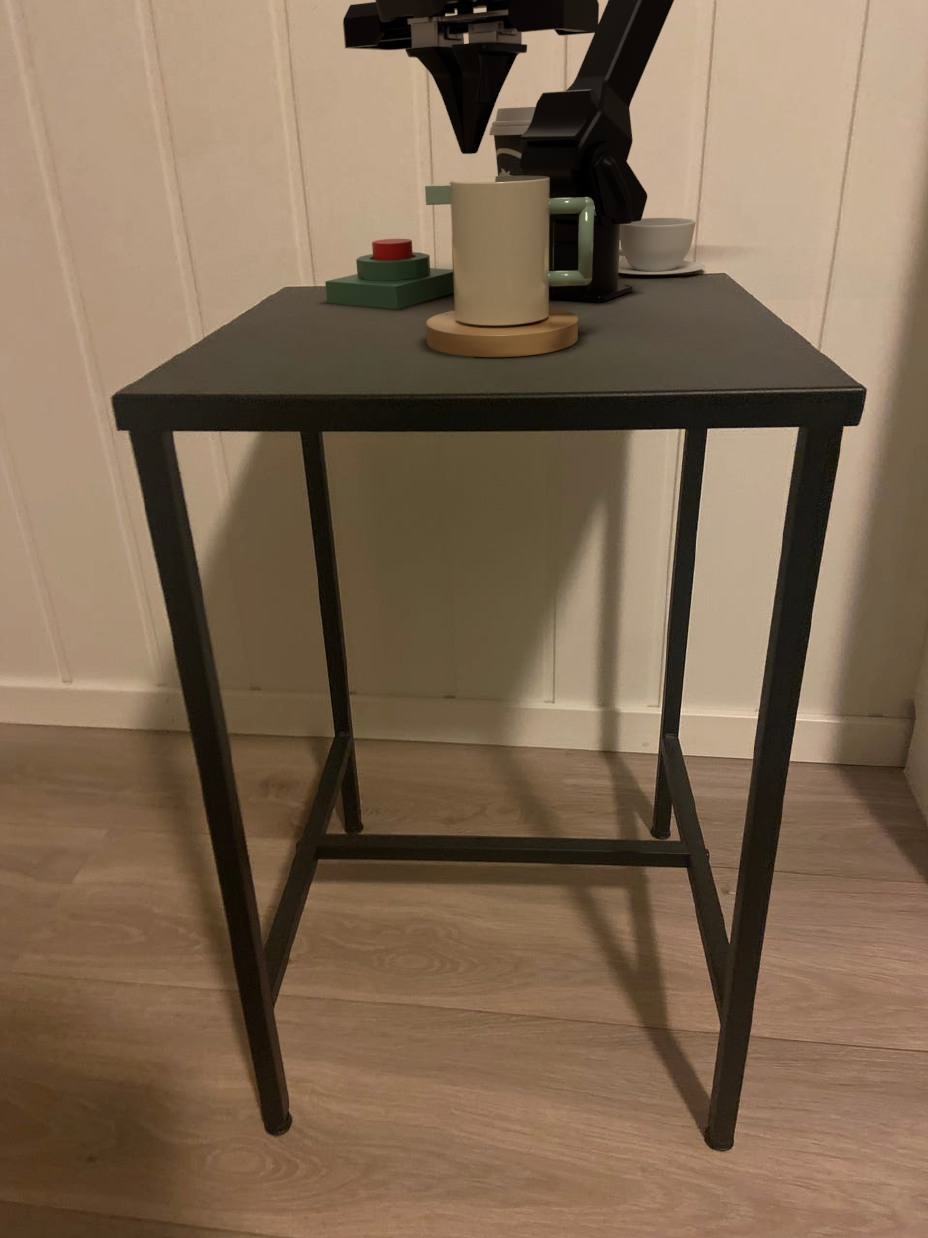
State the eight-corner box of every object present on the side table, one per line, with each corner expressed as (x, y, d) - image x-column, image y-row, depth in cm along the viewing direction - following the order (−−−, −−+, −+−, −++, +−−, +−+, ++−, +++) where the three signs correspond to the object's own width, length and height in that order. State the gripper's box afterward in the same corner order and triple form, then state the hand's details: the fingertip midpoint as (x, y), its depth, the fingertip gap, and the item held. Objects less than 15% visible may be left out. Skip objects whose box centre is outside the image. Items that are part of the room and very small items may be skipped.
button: (389, 257, 87) (388, 237, 86) (420, 259, 85) (419, 239, 85) (365, 263, 85) (363, 242, 84) (397, 265, 83) (395, 243, 82)
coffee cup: (584, 288, 87) (589, 104, 80) (484, 288, 89) (479, 108, 82) (593, 272, 95) (598, 104, 88) (500, 273, 97) (498, 108, 90)
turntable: (479, 320, 75) (479, 301, 74) (603, 332, 69) (604, 311, 69) (396, 348, 67) (395, 327, 66) (529, 363, 62) (529, 340, 61)
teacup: (714, 265, 96) (719, 216, 94) (690, 280, 88) (694, 227, 86) (621, 263, 100) (623, 215, 98) (590, 277, 92) (591, 226, 90)
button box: (394, 286, 92) (391, 248, 90) (461, 290, 88) (460, 251, 86) (327, 302, 85) (323, 262, 83) (397, 309, 81) (394, 266, 79)
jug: (428, 327, 65) (420, 184, 61) (437, 309, 71) (431, 178, 67) (593, 323, 64) (597, 178, 60) (588, 305, 70) (592, 172, 66)
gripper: (279, -99, 63) (306, 160, 70) (519, -148, 53) (520, 158, 61) (382, -78, 71) (396, 153, 78) (606, -117, 61) (598, 149, 69)
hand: (469, 153), depth 71 cm, fingers closed
